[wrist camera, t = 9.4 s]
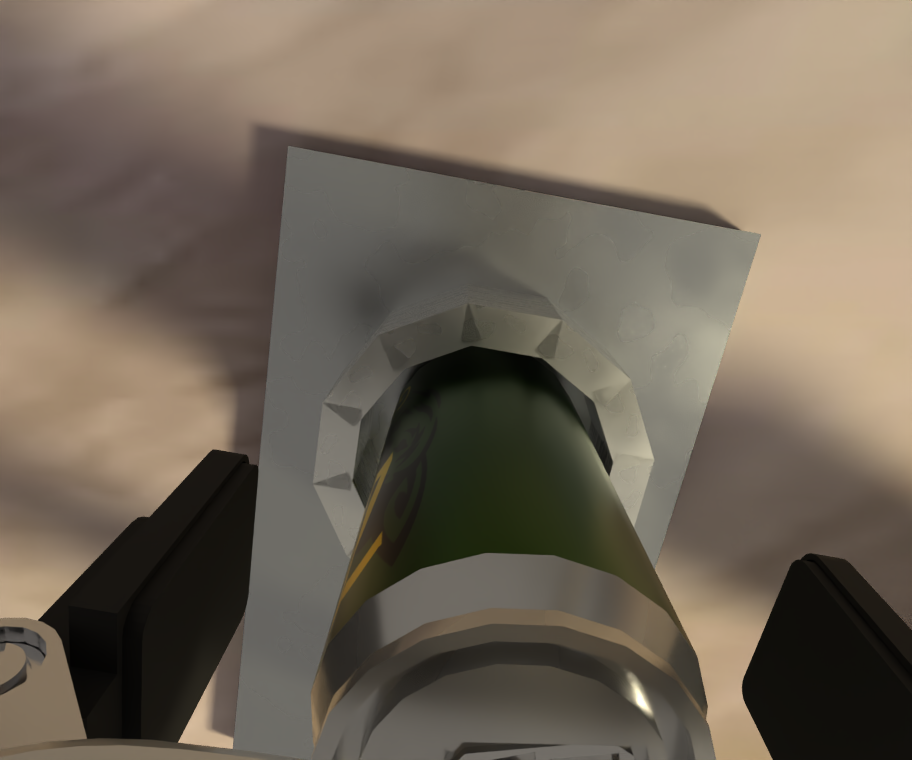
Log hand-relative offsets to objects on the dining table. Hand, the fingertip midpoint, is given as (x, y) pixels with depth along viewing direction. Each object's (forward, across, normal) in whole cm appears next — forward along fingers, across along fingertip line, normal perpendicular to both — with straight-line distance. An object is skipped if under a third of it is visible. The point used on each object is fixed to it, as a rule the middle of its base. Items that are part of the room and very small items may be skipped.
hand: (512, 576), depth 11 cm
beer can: (+9, 0, +1) cm, 9 cm away
